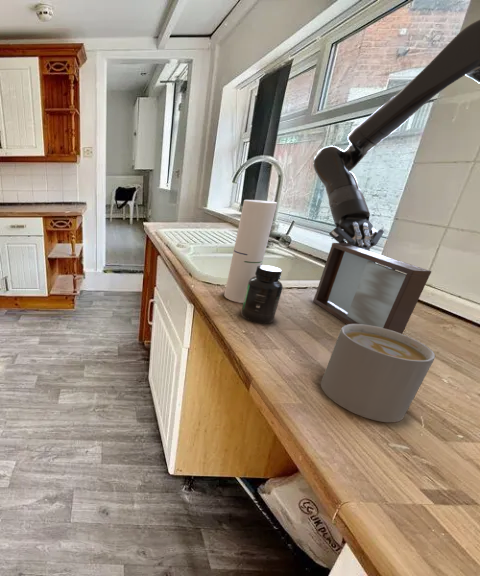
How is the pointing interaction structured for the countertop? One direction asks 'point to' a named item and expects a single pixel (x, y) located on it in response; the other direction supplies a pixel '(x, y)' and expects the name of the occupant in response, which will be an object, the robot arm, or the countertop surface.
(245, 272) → the cylindrical container
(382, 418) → the coffee mug
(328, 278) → the window frame
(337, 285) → the window pane
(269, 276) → the supplement bottle
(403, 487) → the countertop surface
